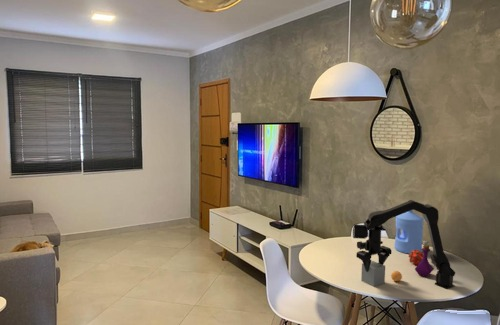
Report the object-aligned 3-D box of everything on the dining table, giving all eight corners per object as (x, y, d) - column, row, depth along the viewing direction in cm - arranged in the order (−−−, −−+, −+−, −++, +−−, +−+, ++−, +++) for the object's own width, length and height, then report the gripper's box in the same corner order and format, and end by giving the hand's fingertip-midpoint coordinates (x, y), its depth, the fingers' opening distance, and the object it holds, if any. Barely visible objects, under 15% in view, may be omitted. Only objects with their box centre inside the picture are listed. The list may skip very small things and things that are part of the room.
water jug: (416, 246, 240) (419, 203, 237) (425, 254, 224) (428, 208, 221) (391, 245, 241) (393, 202, 238) (398, 253, 226) (400, 207, 223)
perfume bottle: (418, 270, 200) (420, 237, 198) (433, 274, 195) (435, 240, 193) (414, 275, 194) (415, 241, 192) (429, 278, 190) (431, 244, 188)
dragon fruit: (412, 262, 216) (422, 273, 205) (401, 254, 215) (411, 265, 203) (423, 251, 215) (433, 262, 203) (412, 243, 213) (421, 253, 202)
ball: (403, 281, 186) (404, 271, 185) (397, 283, 183) (397, 274, 183) (395, 278, 190) (395, 268, 190) (388, 280, 188) (389, 270, 187)
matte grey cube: (384, 283, 184) (385, 265, 183) (373, 286, 180) (374, 268, 179) (372, 277, 191) (372, 260, 190) (361, 280, 187) (361, 263, 186)
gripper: (374, 231, 195) (373, 261, 197) (348, 237, 185) (347, 268, 187) (392, 237, 185) (391, 268, 187) (366, 243, 176) (364, 275, 178)
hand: (373, 269), depth 185 cm, fingers open, 9 cm apart
